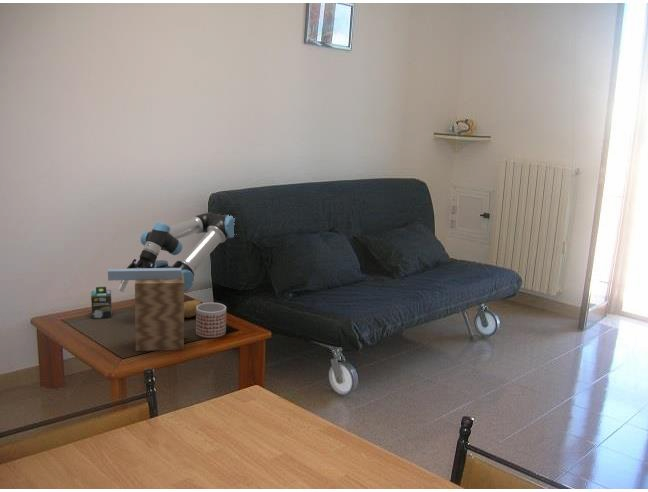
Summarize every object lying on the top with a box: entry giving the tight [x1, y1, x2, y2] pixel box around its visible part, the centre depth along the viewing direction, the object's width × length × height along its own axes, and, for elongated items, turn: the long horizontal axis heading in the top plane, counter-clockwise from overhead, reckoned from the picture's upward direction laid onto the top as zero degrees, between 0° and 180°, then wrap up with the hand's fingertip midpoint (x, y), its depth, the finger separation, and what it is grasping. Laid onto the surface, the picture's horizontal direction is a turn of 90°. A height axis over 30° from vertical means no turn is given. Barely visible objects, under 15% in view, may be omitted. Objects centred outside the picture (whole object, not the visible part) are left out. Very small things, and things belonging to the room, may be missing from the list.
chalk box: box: [90, 286, 113, 319], centre depth 314 cm, size 9×9×15 cm
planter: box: [195, 302, 227, 339], centre depth 299 cm, size 14×14×13 cm
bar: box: [107, 267, 181, 282], centre depth 275 cm, size 30×4×4 cm, turn 103°
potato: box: [184, 299, 202, 319], centre depth 319 cm, size 10×14×8 cm
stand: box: [134, 274, 185, 352], centre depth 281 cm, size 20×14×30 cm
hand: (130, 293), depth 299 cm, fingers open, 13 cm apart
